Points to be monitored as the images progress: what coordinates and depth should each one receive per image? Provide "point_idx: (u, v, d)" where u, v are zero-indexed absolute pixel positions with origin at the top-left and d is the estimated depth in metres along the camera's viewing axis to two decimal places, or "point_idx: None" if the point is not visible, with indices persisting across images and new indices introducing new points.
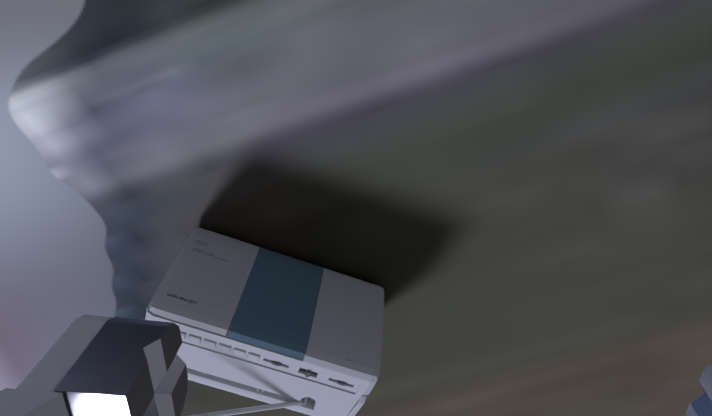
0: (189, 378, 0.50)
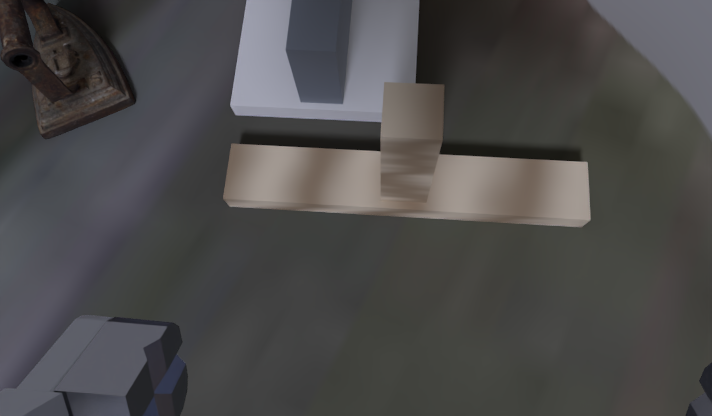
0: None
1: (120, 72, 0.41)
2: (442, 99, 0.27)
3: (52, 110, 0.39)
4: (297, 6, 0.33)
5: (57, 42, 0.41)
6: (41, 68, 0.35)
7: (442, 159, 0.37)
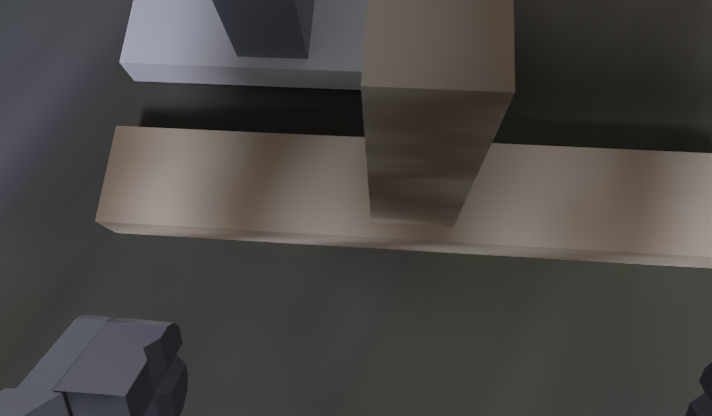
0: None
1: None
2: None
3: None
4: None
5: None
6: None
7: None
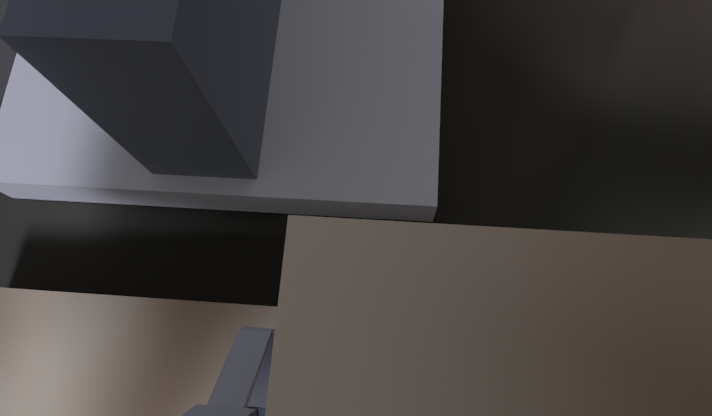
0: None
1: None
2: None
3: None
4: None
5: None
6: None
7: None
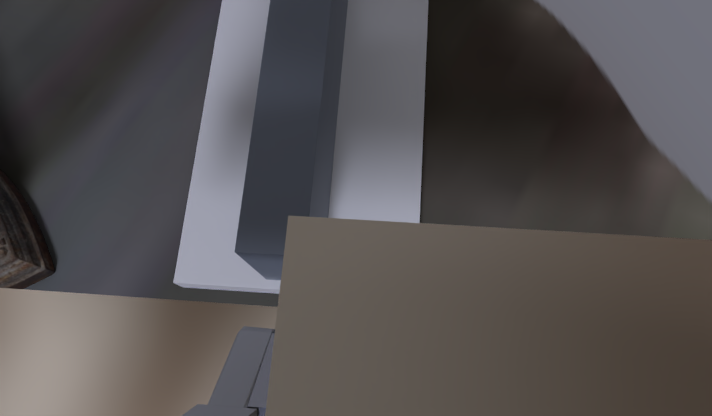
0: None
1: (34, 233, 0.32)
2: None
3: None
4: (253, 184, 0.24)
5: None
6: None
7: None
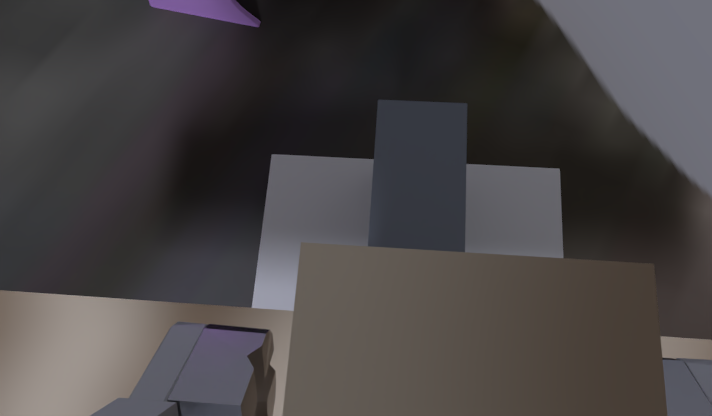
0: None
1: None
2: (651, 363, 0.04)
3: None
4: None
5: None
6: None
7: None
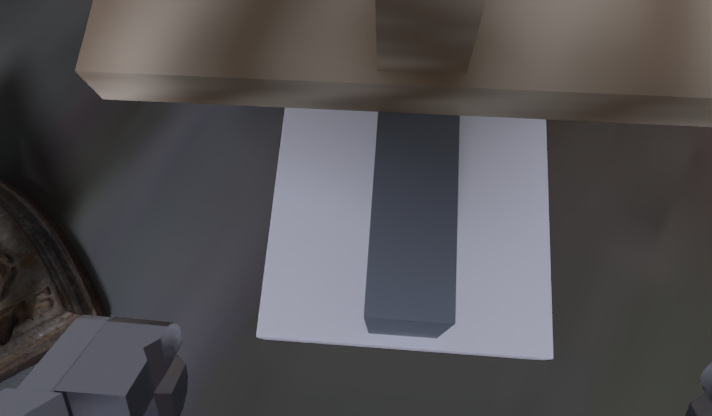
0: None
1: (82, 277, 0.27)
2: None
3: None
4: (381, 228, 0.19)
5: None
6: None
7: None
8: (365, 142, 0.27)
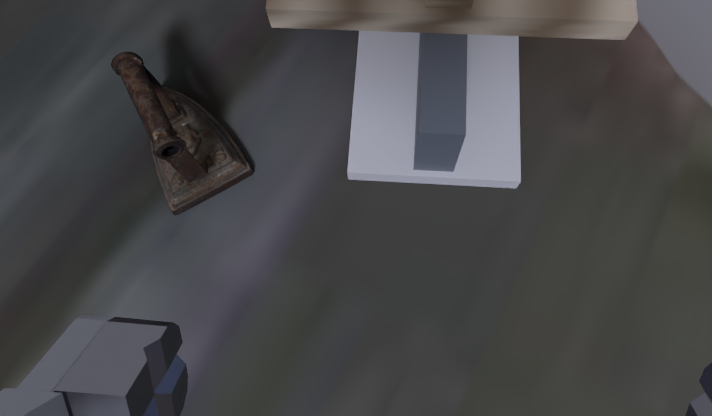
0: None
1: (237, 145, 0.44)
2: None
3: (183, 188, 0.42)
4: (426, 91, 0.36)
5: (176, 123, 0.43)
6: (185, 154, 0.38)
7: None
8: (408, 63, 0.44)
